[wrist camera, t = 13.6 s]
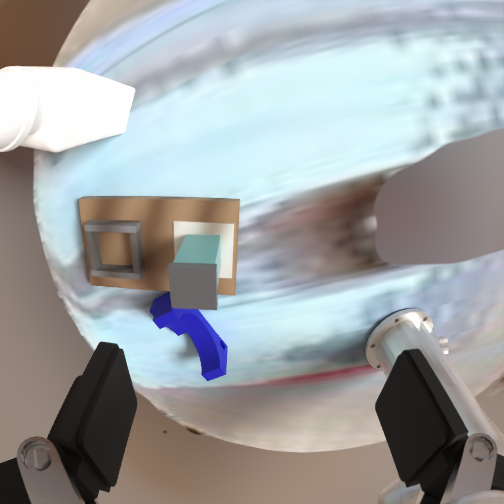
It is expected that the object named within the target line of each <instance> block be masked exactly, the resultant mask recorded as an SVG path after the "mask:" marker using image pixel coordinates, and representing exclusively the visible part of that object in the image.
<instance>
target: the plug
mask: <svg viewBox="0 0 504 504" xmlns="http://www.w3.org/2000/svg"><path fill="white" fill-rule="evenodd" d="M220 268H221V235H197V234H186V236H185V238H184V240H183V242H182V244H181V247H180V249H179V251H178V253H177V255H176V257H175V259H174V262H173V263H169V265H168V277H169V287H170V297H171V306H172V308H179V309H202V310H217V305H218V299H217V289H218V282H219V275H220Z"/></svg>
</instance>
